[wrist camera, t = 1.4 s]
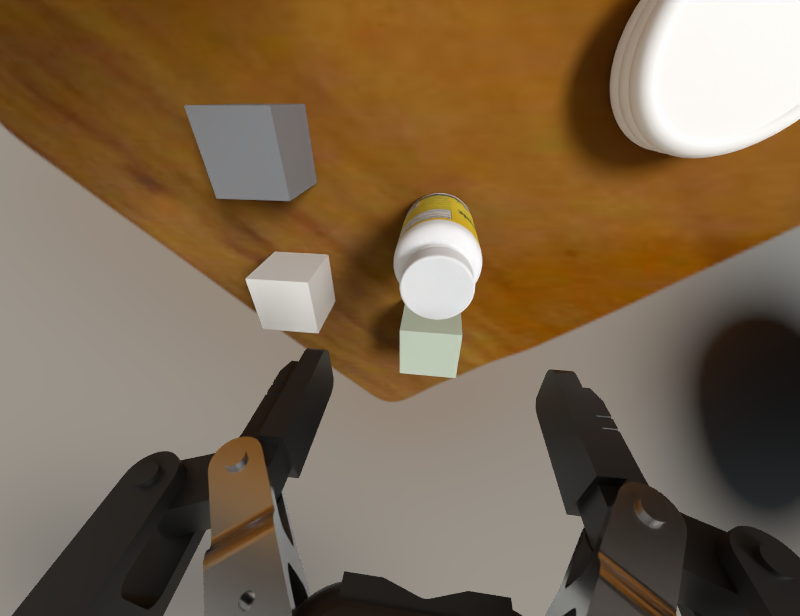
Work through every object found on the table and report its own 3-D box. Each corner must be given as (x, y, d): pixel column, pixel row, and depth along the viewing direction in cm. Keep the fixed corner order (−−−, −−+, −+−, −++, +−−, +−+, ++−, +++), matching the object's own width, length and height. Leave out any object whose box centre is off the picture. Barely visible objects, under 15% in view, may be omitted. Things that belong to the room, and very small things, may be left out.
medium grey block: (235, 103, 20) (184, 105, 16) (305, 103, 20) (269, 105, 16) (256, 180, 23) (216, 198, 19) (317, 182, 23) (290, 201, 19)
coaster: (852, -176, 12) (979, -261, 9) (828, 82, 16) (909, 79, 14) (586, 13, 16) (617, -5, 13) (623, 181, 20) (652, 194, 18)
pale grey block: (275, 251, 27) (245, 278, 23) (328, 254, 26) (307, 282, 22) (287, 297, 30) (262, 328, 26) (335, 300, 29) (318, 333, 25)
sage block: (406, 296, 28) (399, 330, 24) (459, 300, 27) (462, 335, 23) (405, 336, 31) (399, 372, 27) (454, 340, 30) (455, 378, 26)
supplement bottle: (476, 251, 24) (491, 325, 16) (411, 261, 26) (397, 335, 18) (469, 183, 21) (485, 234, 13) (397, 198, 23) (372, 253, 15)
